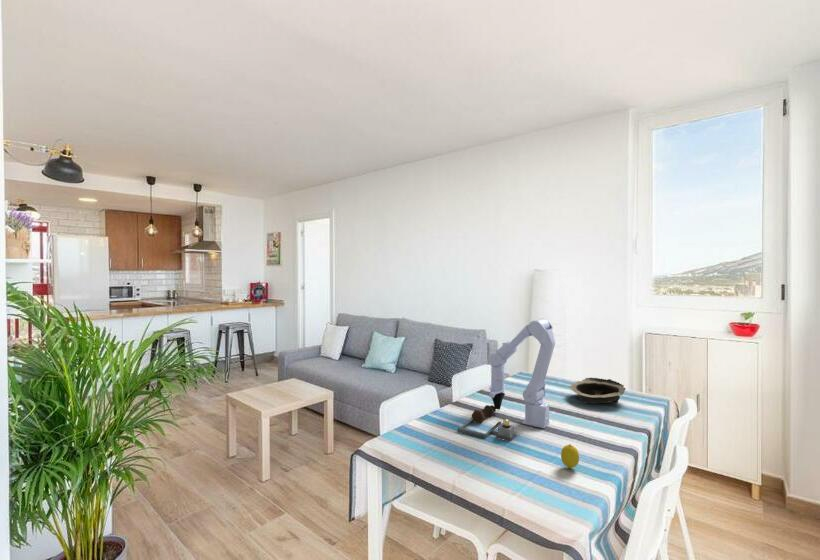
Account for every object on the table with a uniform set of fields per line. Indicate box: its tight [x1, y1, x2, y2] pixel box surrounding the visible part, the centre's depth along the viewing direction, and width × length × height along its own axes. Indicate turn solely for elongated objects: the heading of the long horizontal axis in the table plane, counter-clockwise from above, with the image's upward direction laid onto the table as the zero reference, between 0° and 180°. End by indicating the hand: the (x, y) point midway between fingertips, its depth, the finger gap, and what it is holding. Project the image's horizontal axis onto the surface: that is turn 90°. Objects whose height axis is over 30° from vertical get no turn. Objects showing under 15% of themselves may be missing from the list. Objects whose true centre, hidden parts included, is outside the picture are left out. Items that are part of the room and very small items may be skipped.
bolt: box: [471, 404, 497, 424], centre depth 176 cm, size 6×5×15 cm
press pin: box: [502, 418, 510, 428], centre depth 156 cm, size 2×2×3 cm
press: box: [456, 417, 517, 442], centre depth 162 cm, size 21×17×4 cm
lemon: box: [560, 443, 580, 470], centre depth 132 cm, size 6×6×8 cm
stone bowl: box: [569, 377, 626, 405], centre depth 197 cm, size 25×25×9 cm
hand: (497, 409), depth 181 cm, fingers closed
